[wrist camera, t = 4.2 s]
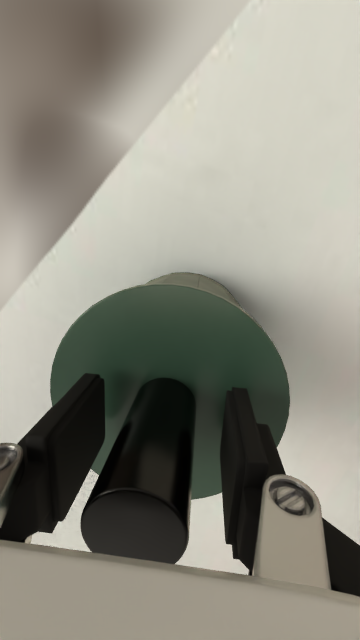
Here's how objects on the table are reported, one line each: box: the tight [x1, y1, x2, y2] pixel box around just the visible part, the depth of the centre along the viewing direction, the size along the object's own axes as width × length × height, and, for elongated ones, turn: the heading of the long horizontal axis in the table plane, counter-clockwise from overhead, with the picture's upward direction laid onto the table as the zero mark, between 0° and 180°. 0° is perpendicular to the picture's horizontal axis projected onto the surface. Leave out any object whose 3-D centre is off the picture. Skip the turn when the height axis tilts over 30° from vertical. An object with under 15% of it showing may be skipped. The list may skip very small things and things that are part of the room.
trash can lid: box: [50, 283, 290, 564], centre depth 10 cm, size 10×10×7 cm
